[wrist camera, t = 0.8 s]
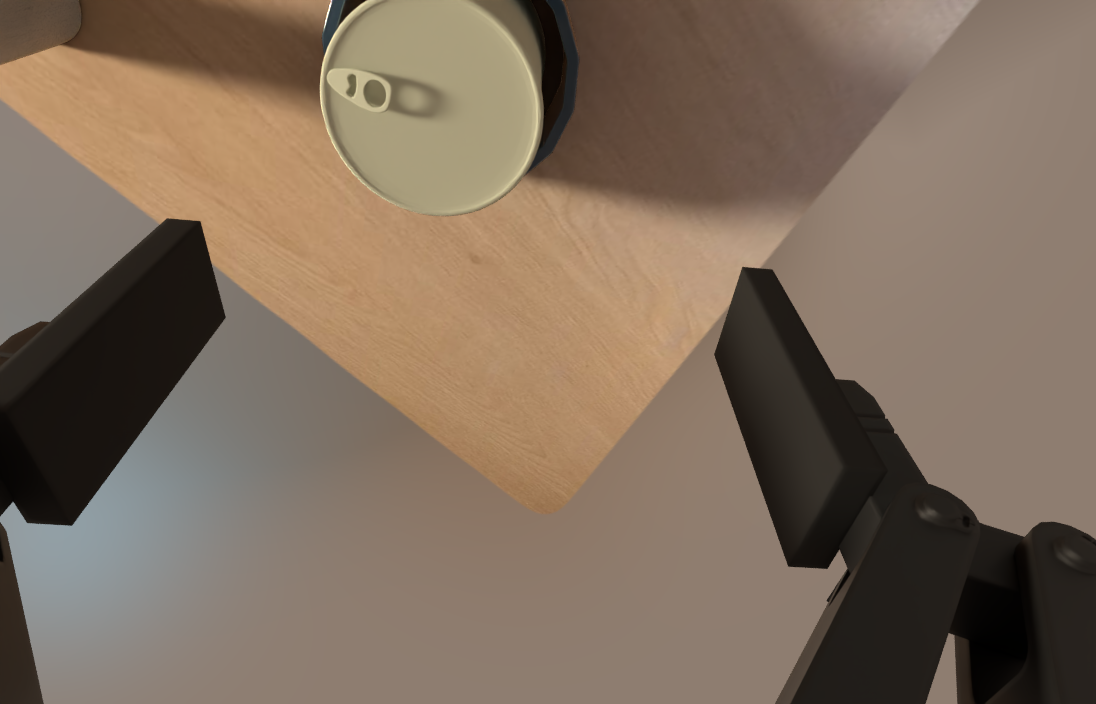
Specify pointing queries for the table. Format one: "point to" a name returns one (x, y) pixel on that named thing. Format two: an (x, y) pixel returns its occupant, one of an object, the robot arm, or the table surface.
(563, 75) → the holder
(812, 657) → the robot arm
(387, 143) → the can
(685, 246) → the table surface
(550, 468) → the table surface
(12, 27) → the planter
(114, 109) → the table surface
